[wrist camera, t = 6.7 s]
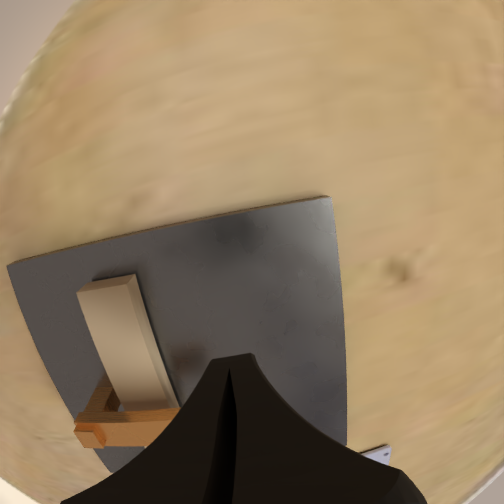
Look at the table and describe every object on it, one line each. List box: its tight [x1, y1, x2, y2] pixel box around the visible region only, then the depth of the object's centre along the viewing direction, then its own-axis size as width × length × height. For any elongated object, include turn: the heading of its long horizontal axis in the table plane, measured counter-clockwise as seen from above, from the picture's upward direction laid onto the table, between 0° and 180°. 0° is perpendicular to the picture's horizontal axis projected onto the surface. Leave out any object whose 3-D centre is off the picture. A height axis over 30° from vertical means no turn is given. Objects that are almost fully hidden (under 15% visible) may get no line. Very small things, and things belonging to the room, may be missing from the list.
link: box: [76, 274, 180, 448], centre depth 17 cm, size 15×4×2 cm, turn 9°
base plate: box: [7, 196, 347, 473], centre depth 17 cm, size 19×20×6 cm
